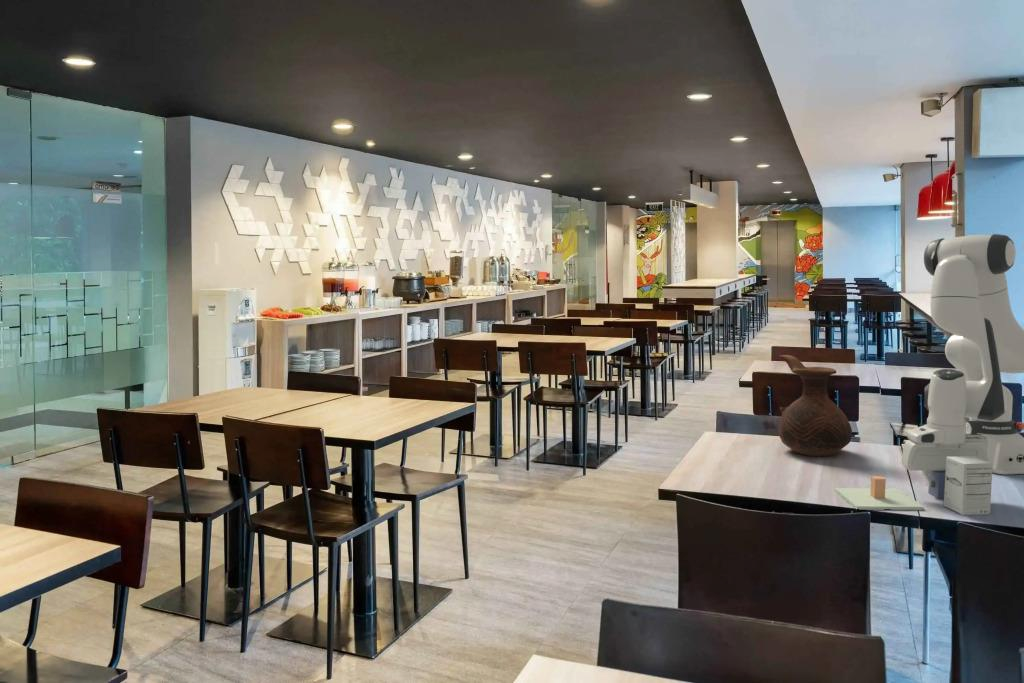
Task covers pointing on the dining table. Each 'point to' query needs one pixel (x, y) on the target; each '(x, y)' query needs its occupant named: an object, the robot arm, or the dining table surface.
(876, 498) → the post board
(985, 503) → the supplement box
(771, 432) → the dining table surface
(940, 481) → the blue-grey block
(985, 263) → the robot arm
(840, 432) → the jug
